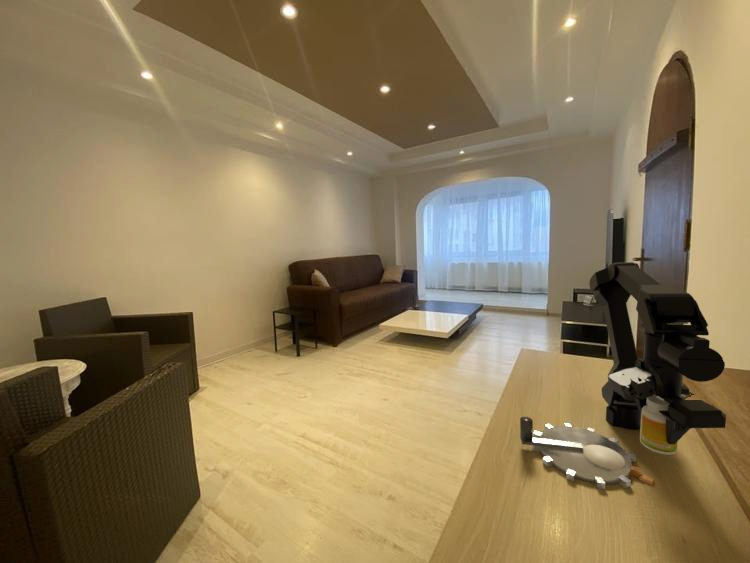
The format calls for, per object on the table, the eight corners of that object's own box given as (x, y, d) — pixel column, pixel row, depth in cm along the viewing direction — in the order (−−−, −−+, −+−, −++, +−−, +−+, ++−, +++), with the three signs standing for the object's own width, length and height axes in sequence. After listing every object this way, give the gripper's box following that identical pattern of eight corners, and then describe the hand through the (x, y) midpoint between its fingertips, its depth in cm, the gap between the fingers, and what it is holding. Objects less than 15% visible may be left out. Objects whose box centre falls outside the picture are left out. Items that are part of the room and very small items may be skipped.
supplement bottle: (680, 459, 57) (684, 410, 56) (642, 450, 60) (645, 403, 59) (672, 442, 62) (675, 396, 60) (637, 434, 65) (639, 390, 63)
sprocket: (526, 418, 78) (526, 393, 77) (630, 441, 67) (632, 413, 67) (516, 464, 63) (516, 434, 62) (648, 504, 52) (650, 469, 51)
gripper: (588, 342, 69) (586, 409, 71) (657, 381, 50) (652, 469, 52) (642, 341, 68) (639, 408, 70) (733, 379, 49) (725, 469, 51)
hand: (658, 434), depth 61 cm, fingers closed on supplement bottle, 5 cm apart
